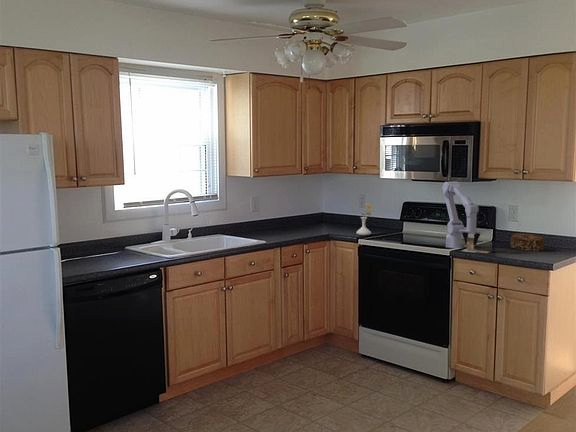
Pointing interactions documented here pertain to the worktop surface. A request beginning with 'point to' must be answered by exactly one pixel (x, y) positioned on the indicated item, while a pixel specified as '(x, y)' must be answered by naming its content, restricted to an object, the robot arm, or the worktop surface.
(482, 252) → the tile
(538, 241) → the bread
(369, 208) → the flower in vase
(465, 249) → the mat
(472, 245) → the brown wooden box
